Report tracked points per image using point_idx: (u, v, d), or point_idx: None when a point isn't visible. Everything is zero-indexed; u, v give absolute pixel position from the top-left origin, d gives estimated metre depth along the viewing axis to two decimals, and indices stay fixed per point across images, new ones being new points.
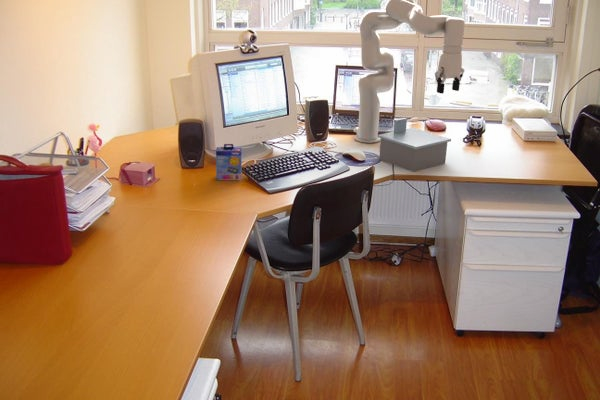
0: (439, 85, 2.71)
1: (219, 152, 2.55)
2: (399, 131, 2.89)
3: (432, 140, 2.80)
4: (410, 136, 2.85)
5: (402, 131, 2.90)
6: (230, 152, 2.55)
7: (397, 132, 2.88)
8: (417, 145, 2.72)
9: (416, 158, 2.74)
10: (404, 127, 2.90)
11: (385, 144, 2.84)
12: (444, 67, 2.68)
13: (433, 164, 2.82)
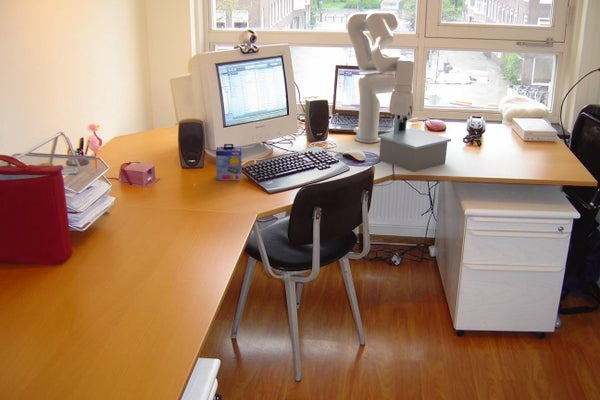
0: (404, 124, 2.87)
1: (219, 152, 2.55)
2: (399, 131, 2.89)
3: (432, 140, 2.80)
4: (410, 136, 2.85)
5: (402, 131, 2.90)
6: (230, 152, 2.55)
7: (397, 132, 2.88)
8: (417, 145, 2.72)
9: (416, 158, 2.74)
10: None
11: (385, 144, 2.84)
12: (412, 105, 2.83)
13: (433, 164, 2.82)
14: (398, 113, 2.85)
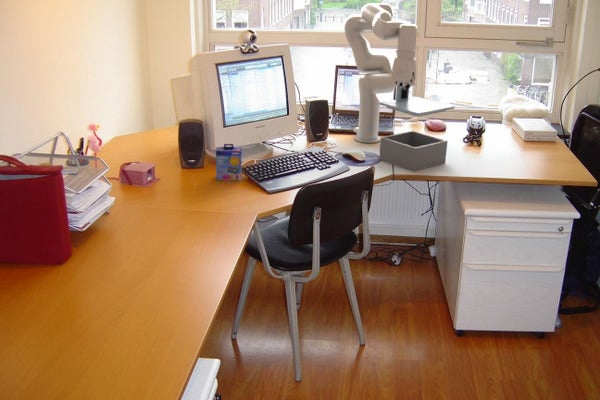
0: (406, 91, 2.83)
1: (219, 152, 2.55)
2: (401, 99, 2.84)
3: (435, 107, 2.75)
4: (413, 103, 2.80)
5: (404, 99, 2.85)
6: (230, 152, 2.55)
7: (399, 100, 2.84)
8: (420, 111, 2.67)
9: (416, 158, 2.74)
10: None
11: (385, 144, 2.84)
12: (414, 72, 2.78)
13: (433, 164, 2.82)
14: (400, 80, 2.80)
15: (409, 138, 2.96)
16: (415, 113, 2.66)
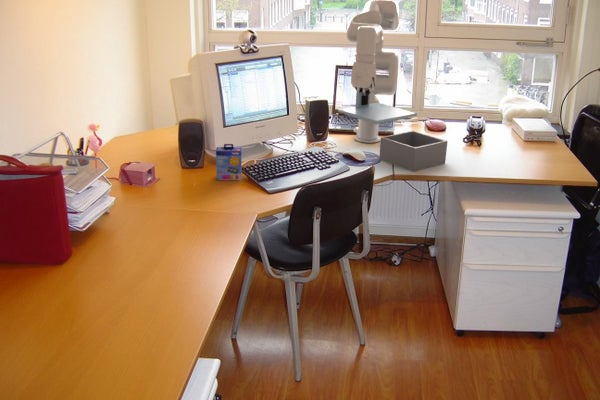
0: (366, 97, 2.66)
1: (219, 152, 2.55)
2: (361, 105, 2.68)
3: (396, 114, 2.59)
4: (373, 110, 2.64)
5: (365, 105, 2.69)
6: (230, 152, 2.55)
7: (359, 107, 2.67)
8: (378, 119, 2.51)
9: (416, 158, 2.74)
10: None
11: (385, 144, 2.84)
12: (374, 76, 2.62)
13: (433, 164, 2.82)
14: (360, 85, 2.64)
15: (409, 138, 2.96)
16: (373, 121, 2.50)
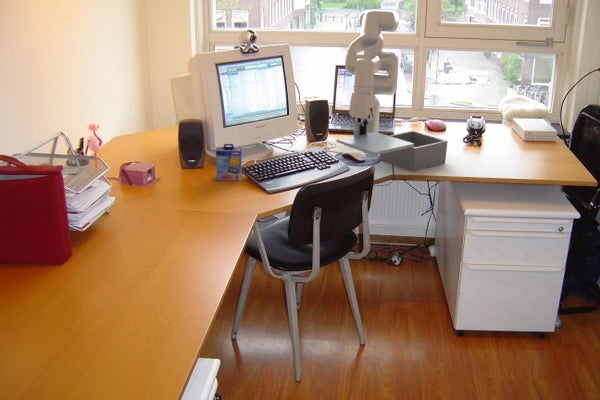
0: (364, 127, 2.71)
1: (219, 152, 2.55)
2: (360, 135, 2.72)
3: (393, 145, 2.63)
4: (371, 141, 2.68)
5: (363, 135, 2.73)
6: (230, 152, 2.55)
7: (358, 137, 2.72)
8: (376, 150, 2.55)
9: (416, 158, 2.74)
10: None
11: None
12: (372, 107, 2.66)
13: (433, 164, 2.82)
14: (358, 116, 2.68)
15: (409, 138, 2.96)
16: (371, 152, 2.54)
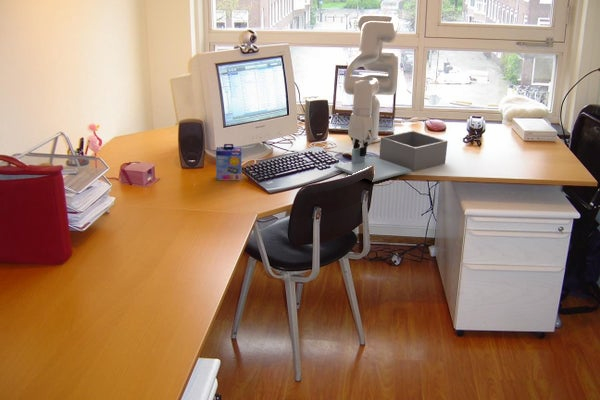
0: (365, 149, 2.73)
1: (219, 152, 2.55)
2: (357, 161, 2.77)
3: (390, 171, 2.68)
4: (368, 166, 2.73)
5: (361, 161, 2.78)
6: (230, 152, 2.55)
7: (355, 162, 2.76)
8: (374, 177, 2.60)
9: (416, 158, 2.74)
10: (363, 156, 2.78)
11: (385, 144, 2.84)
12: (371, 129, 2.69)
13: (433, 164, 2.82)
14: (357, 137, 2.71)
15: (409, 138, 2.96)
16: None
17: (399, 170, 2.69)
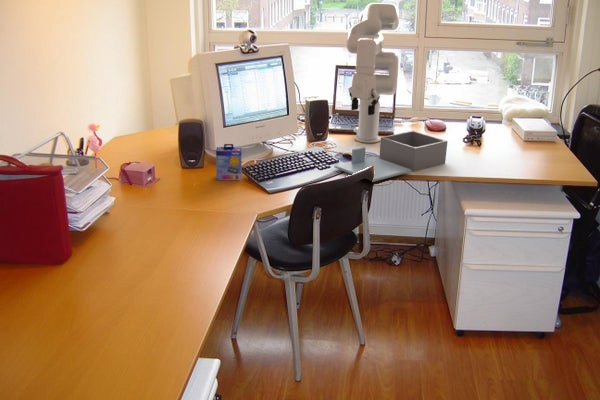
0: (373, 107, 2.66)
1: (219, 152, 2.55)
2: (357, 161, 2.77)
3: (390, 171, 2.68)
4: (368, 166, 2.73)
5: (361, 161, 2.78)
6: (230, 152, 2.55)
7: (355, 162, 2.76)
8: (374, 177, 2.60)
9: (416, 158, 2.74)
10: (363, 156, 2.78)
11: (385, 144, 2.84)
12: (374, 88, 2.64)
13: (433, 164, 2.82)
14: (360, 97, 2.66)
15: (409, 138, 2.96)
16: None
17: (399, 170, 2.69)
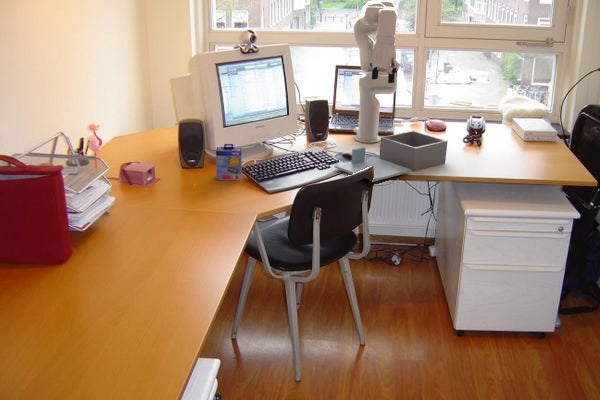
0: (393, 75, 2.77)
1: (219, 152, 2.55)
2: (357, 161, 2.77)
3: (390, 171, 2.68)
4: (368, 166, 2.73)
5: (361, 161, 2.78)
6: (230, 152, 2.55)
7: (355, 162, 2.76)
8: (374, 177, 2.60)
9: (416, 158, 2.74)
10: (363, 156, 2.78)
11: (385, 144, 2.84)
12: (394, 57, 2.75)
13: (433, 164, 2.82)
14: (380, 65, 2.77)
15: (409, 138, 2.96)
16: None
17: (399, 170, 2.69)
